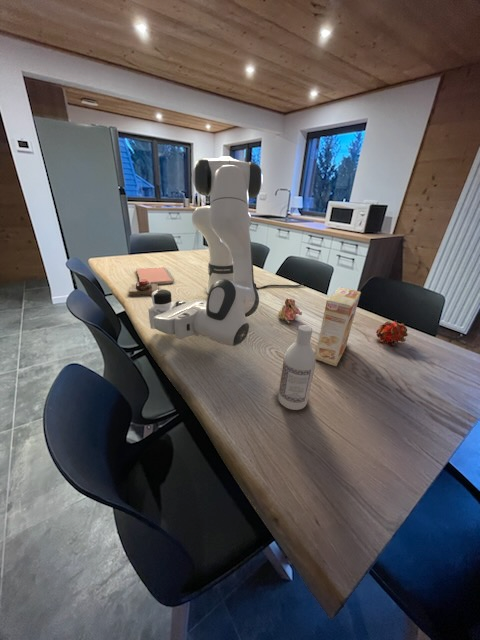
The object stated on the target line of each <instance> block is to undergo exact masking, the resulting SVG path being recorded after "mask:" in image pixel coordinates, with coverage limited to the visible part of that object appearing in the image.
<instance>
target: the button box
mask: <svg viewBox="0 0 480 640" xmlns="http://www.w3.org/2000/svg"><path fill="white" fill-rule="evenodd" d="M156 290H159V284H151V282H148V285H139V281H137V282H136V283H133V284H131V285H130V288H129V290H128V293H129V296H130V297H139V296H152V292H154V291H156Z"/></svg>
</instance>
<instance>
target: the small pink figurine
mask: <svg viewBox="0 0 480 640" xmlns="http://www.w3.org/2000/svg"><path fill="white" fill-rule="evenodd" d="M297 315H299V316H302V315H303V312H302V311H300V309H299V307H297V306H296V301H295V299H293V298H290V297H289V298H286V299H285V300H284V304H283V305H282V307H281V309H280V310H278V314H277V317H278V318H280V320H285V321H286V322H287V323H288V324H290V320H291V321H294V318H296V317H297Z"/></svg>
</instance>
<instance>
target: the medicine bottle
mask: <svg viewBox="0 0 480 640" xmlns="http://www.w3.org/2000/svg"><path fill="white" fill-rule="evenodd" d="M151 301H152V302H151V303H152V305H151V306H150V307H149V308H148V311H147V312H148V318H149V325H150V329H151V330H156V329H155V327H154V321H153V319H154V311H155V310H161V313H164V312H166V311H168V310H171V309H173V308H175V307H176V302H177V301H173V300H172V292H171V291H170V290H168V289H164V288H163V289H158V290H156V291H154V292H152V295H151Z"/></svg>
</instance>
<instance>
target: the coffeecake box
mask: <svg viewBox="0 0 480 640" xmlns="http://www.w3.org/2000/svg"><path fill="white" fill-rule="evenodd" d="M361 294H362V292H361V291H359V290H354V289H350V288H345V287H337V289H336V290H334V292H333V293H332V294H331V295H330V296H329V297H328V298H327V300H326V303H325V308H324V313H323V316H322V322H321V326H320V331H319V335H318V338H317V339H318V340H317V344H316V349H315V352H314V354H315V360H317V361H320V362H323V363H324V364H328V365H331V366H334V367H337V366H338V364H339V362H340V360H341V358H342V356H343V354H344V352H345V350H346V347H347V345H348V342H349V341H348V340H349V337H350V333H351V330H352V326H353V323H354V322H353V321H354V319H355V315H356V311H357V307H358V304H359V301H360V297H361Z"/></svg>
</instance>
